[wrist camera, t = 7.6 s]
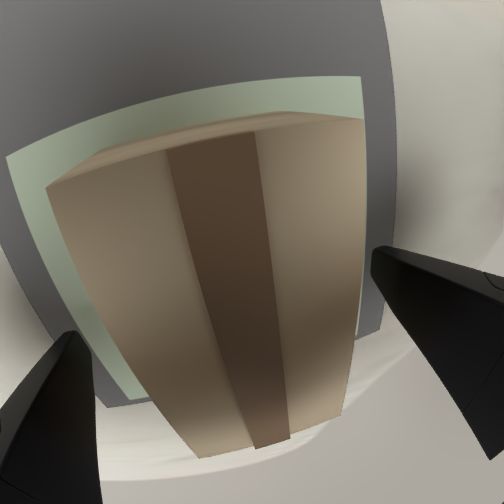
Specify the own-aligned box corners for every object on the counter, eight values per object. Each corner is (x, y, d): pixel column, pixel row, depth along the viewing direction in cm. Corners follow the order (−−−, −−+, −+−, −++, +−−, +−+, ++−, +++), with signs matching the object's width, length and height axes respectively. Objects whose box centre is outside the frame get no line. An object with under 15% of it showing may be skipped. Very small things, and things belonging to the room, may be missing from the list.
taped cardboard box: (298, 341, 12) (342, 418, 9) (183, 373, 11) (199, 462, 8) (279, 110, 8) (369, 119, 4) (101, 149, 7) (41, 190, 3)
